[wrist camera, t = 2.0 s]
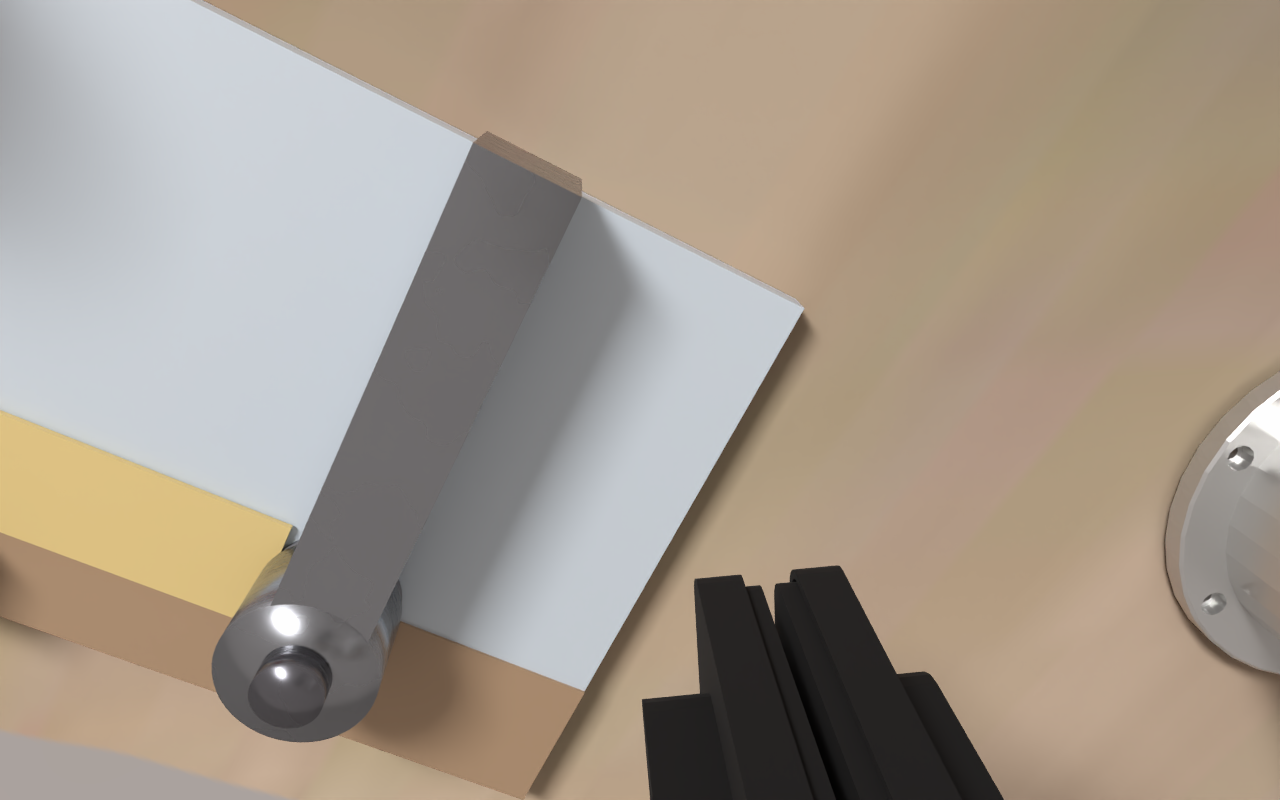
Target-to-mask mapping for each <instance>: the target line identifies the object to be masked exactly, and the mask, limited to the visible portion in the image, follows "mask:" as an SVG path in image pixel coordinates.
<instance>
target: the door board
mask: <svg viewBox="0 0 1280 800" xmlns="http://www.w3.org/2000/svg"><path fill="white" fill-rule="evenodd" d="M476 140H477V138H475V137H473V136H471V135H469V134H467V133H465V132H463V131H461V130H459V129H457V128H455V127H453V126H451V125H449V124H447V123H445V122H443V121H441V120H439V119H437V118H435V117H433V116H431V115H429V114H428V113H426V112H424V111H422V110H420V109H418V108H416V107H414V106H412V105H410V104H408V103H406V102H404V101H402V100H400V99H398V98H396V97H394V96H392V95H390V94H388V93H386V92H384V91H382V90H380V89H378V88H376V87H374V86H372V85H370V84H368V83H366V82H364V81H362V80H360V79H358V78H356V77H354V76H352V75H350V74H348V73H346V72H344V71H342V70H340V69H338V68H336V67H334V66H332V65H330V64H328V63H326V62H324V61H322V60H320V59H318V58H316V57H314V56H312V55H310V54H308V53H306V52H304V51H302V50H300V49H298V48H296V47H294V46H292V45H290V44H288V43H286V42H284V41H282V40H280V39H278V38H277V37H275V36H273V35H271V34H269V33H267V32H265V31H263V30H261V29H259V28H257V27H255V26H253V25H251V24H249V23H247V22H245V21H243V20H241V19H239V18H237V17H235V16H233V15H231V14H229V13H227V12H225V11H223V10H221V9H219V8H217V7H215V6H213V5H211V4H209V3H207V2H205V1H203V0H0V617H3V618H6V619H8V620H11V621H14V622H17V623H20V624H23V625H26V626H28V627H31V628H34V629H37V630H40V631H43V632H46V633H48V634H51V635H54V636H57V637H60V638H63V639H65V640H68V641H71V642H74V643H77V644H80V645H83V646H85V647H88V648H91V649H94V650H97V651H100V652H103V653H105V654H108V655H111V656H114V657H117V658H120V659H123V660H125V661H128V662H131V663H134V664H137V665H140V666H143V667H145V668H148V669H151V670H154V671H157V672H160V673H163V674H165V675H168V676H171V677H174V678H177V679H180V680H182V681H185V682H188V683H191V684H194V685H197V686H200V687H202V688H205V689H208V690H211V691H214V692H216V689H215V686H214V683H213V678H212V658H213V653H214V650H215V647H216V645H217V643H218V641H219V639H220V637H221V636H222V634H223V633H224V631H225V629H226V628H227V626H228V625H229V623H230V621H231V620H232V618H233V616H234V615H235V613H236V612H237V610H238V608H239V607H240V605H241V604H242V602H243V600H244V599H245V597H246V595H247V594H248V592H249V591H250V589H251V587H252V586H253V584H254V583H255V581H256V579H257V578H258V576H259V575H260V573H261V571H262V570H263V569H264V567H265V566H266V565H267V563H268V562H269V561H270V560H271V559H272V558H274V557H275V556H276V555H278V554H279V553H280V552H282V551H284V550H286V549H288V548H290V547H293V546H295V545H297V544H298V541H299V539H300V537H301V535H302V532H303V530H304V528H305V525H306V523H307V521H308V519H309V516H310V514H311V512H312V509H313V507H314V505H315V503H316V500H317V498H318V496H319V493H320V491H321V489H322V487H323V484H324V482H325V480H326V477H327V475H328V473H329V471H330V468H331V466H332V464H333V461H334V459H335V457H336V455H337V452H338V450H339V448H340V445H341V443H342V441H343V439H344V436H345V434H346V432H347V429H348V427H349V425H350V423H351V420H352V418H353V416H354V413H355V411H356V409H357V407H358V404H359V402H360V400H361V397H362V395H363V393H364V391H365V388H366V386H367V384H368V381H369V379H370V377H371V375H372V372H373V370H374V368H375V365H376V363H377V361H378V359H379V356H380V354H381V352H382V349H383V347H384V345H385V343H386V340H387V338H388V336H389V333H390V331H391V329H392V327H393V324H394V322H395V320H396V317H397V315H398V313H399V311H400V308H401V306H402V304H403V301H404V299H405V297H406V295H407V292H408V290H409V288H410V285H411V283H412V281H413V279H414V276H415V274H416V272H417V269H418V267H419V265H420V263H421V260H422V258H423V256H424V253H425V251H426V249H427V247H428V244H429V242H430V240H431V237H432V235H433V233H434V231H435V228H436V226H437V224H438V221H439V219H440V217H441V214H442V212H443V210H444V208H445V205H446V203H447V201H448V198H449V196H450V194H451V192H452V189H453V187H454V185H455V182H456V180H457V178H458V176H459V173H460V171H461V169H462V166H463V164H464V162H465V160H466V157H467V155H468V153H469V150H470V148H471V146H472V144H473V142H474V141H476ZM803 310H804V308H803V306H802V305H801V304H800V303H799V302H798V301H797V300H796V299H795V298H793V297H791V296H789V295H787V294H785V293H783V292H781V291H779V290H777V289H775V288H773V287H771V286H769V285H767V284H765V283H763V282H761V281H759V280H757V279H755V278H753V277H751V276H749V275H747V274H745V273H743V272H741V271H739V270H737V269H735V268H733V267H732V266H730V265H728V264H726V263H724V262H722V261H720V260H718V259H716V258H714V257H712V256H710V255H708V254H706V253H704V252H702V251H700V250H698V249H696V248H694V247H692V246H690V245H688V244H686V243H684V242H682V241H680V240H678V239H676V238H674V237H672V236H670V235H668V234H666V233H664V232H662V231H660V230H658V229H656V228H654V227H652V226H650V225H648V224H646V223H644V222H642V221H640V220H638V219H636V218H634V217H632V216H630V215H628V214H626V213H624V212H622V211H620V210H618V209H616V208H614V207H612V206H610V205H608V204H606V203H604V202H602V201H600V200H598V199H596V198H594V197H592V196H590V195H588V194H586V193H584V192H582V198H581V200H580V202H579V204H578V206H577V209H576V211H575V213H574V215H573V217H572V219H571V221H570V223H569V225H568V227H567V229H566V231H565V234H564V236H563V238H562V240H561V242H560V244H559V246H558V248H557V250H556V252H555V254H554V256H553V258H552V261H551V263H550V265H549V267H548V269H547V271H546V273H545V275H544V277H543V279H542V281H541V283H540V286H539V288H538V290H537V292H536V294H535V296H534V298H533V300H532V302H531V304H530V306H529V308H528V310H527V313H526V315H525V317H524V319H523V321H522V323H521V325H520V327H519V329H518V331H517V333H516V335H515V338H514V340H513V342H512V344H511V346H510V348H509V350H508V352H507V354H506V356H505V358H504V360H503V362H502V365H501V367H500V369H499V371H498V373H497V375H496V377H495V379H494V381H493V383H492V385H491V387H490V390H489V392H488V394H487V396H486V398H485V400H484V402H483V404H482V406H481V408H480V410H479V412H478V415H477V417H476V419H475V421H474V423H473V425H472V427H471V429H470V431H469V433H468V435H467V437H466V439H465V442H464V444H463V446H462V448H461V450H460V452H459V454H458V456H457V458H456V460H455V462H454V464H453V467H452V469H451V471H450V473H449V475H448V477H447V479H446V481H445V483H444V485H443V487H442V489H441V491H440V494H439V496H438V498H437V500H436V502H435V504H434V506H433V508H432V510H431V512H430V514H429V516H428V519H427V521H426V523H425V525H424V527H423V529H422V531H421V533H420V535H419V537H418V539H417V541H416V543H415V546H414V548H413V550H412V552H411V554H410V556H409V558H408V560H407V562H406V564H405V566H404V568H403V571H402V573H401V575H400V577H399V579H398V581H397V583H396V584H397V587H398V589H399V592H400V596H401V600H402V616H401V621H400V625H399V628H398V631H397V634H396V637H395V641H394V644H393V647H392V650H391V653H390V656H389V660H388V663H387V666H386V669H385V672H384V675H383V678H382V682H381V685H380V688H379V691H378V694H377V697H376V699H375V702H374V704H373V706H372V707H371V709H370V711H369V712H368V713H367V715H366V716H365V717H364V718H363V719H362V720H361V721H360V722H359V723H358V724H357V725H355V726H354V727H352V728H351V729H349V730H348V731H346V732H344V733H342V734H340V735H339V736H342V737H345V738H348V739H351V740H354V741H357V742H359V743H362V744H365V745H368V746H371V747H374V748H377V749H379V750H382V751H385V752H388V753H391V754H394V755H396V756H399V757H402V758H405V759H408V760H411V761H414V762H416V763H419V764H422V765H425V766H428V767H431V768H434V769H436V770H439V771H442V772H445V773H448V774H451V775H454V776H456V777H459V778H462V779H465V780H468V781H471V782H474V783H476V784H479V785H482V786H485V787H488V788H491V789H494V790H496V791H499V792H502V793H505V794H508V795H511V796H513V797H516V798H519V799H522V800H523V799H524V798H525V796H526V794H527V792H528V791H529V789H530V787H531V785H532V784H533V782H534V780H535V778H536V777H537V775H538V773H539V771H540V770H541V768H542V766H543V765H544V763H545V761H546V759H547V758H548V756H549V754H550V752H551V751H552V749H553V747H554V745H555V744H556V742H557V740H558V738H559V737H560V735H561V733H562V731H563V730H564V728H565V726H566V724H567V723H568V721H569V719H570V718H571V716H572V714H573V712H574V711H575V709H576V707H577V705H578V704H579V702H580V700H581V698H582V697H583V695H584V691H585V690H586V688H587V686H588V684H589V683H590V681H591V679H592V677H593V676H594V674H595V672H596V670H597V669H598V667H599V665H600V663H601V662H602V660H603V658H604V656H605V655H606V653H607V651H608V649H609V648H610V646H611V644H612V643H613V641H614V639H615V637H616V636H617V634H618V632H619V630H620V629H621V627H622V625H623V623H624V622H625V620H626V618H627V616H628V615H629V613H630V611H631V609H632V608H633V606H634V604H635V602H636V601H637V599H638V597H639V595H640V594H641V592H642V590H643V589H644V587H645V585H646V583H647V582H648V580H649V578H650V576H651V575H652V573H653V571H654V569H655V568H656V566H657V564H658V562H659V561H660V559H661V557H662V555H663V554H664V552H665V550H666V548H667V547H668V545H669V543H670V541H671V540H672V538H673V536H674V535H675V533H676V531H677V529H678V528H679V526H680V524H681V522H682V521H683V519H684V517H685V515H686V514H687V512H688V510H689V508H690V507H691V505H692V503H693V501H694V500H695V498H696V496H697V494H698V493H699V491H700V489H701V487H702V486H703V484H704V482H705V481H706V479H707V477H708V475H709V474H710V472H711V470H712V468H713V467H714V465H715V463H716V461H717V460H718V458H719V456H720V454H721V453H722V451H723V449H724V447H725V446H726V444H727V442H728V440H729V439H730V437H731V435H732V433H733V432H734V430H735V428H736V427H737V425H738V423H739V421H740V420H741V418H742V416H743V414H744V413H745V411H746V409H747V407H748V406H749V404H750V402H751V400H752V399H753V397H754V395H755V393H756V392H757V390H758V388H759V386H760V385H761V383H762V381H763V379H764V378H765V376H766V374H767V373H768V371H769V369H770V367H771V366H772V364H773V362H774V360H775V359H776V357H777V355H778V353H779V352H780V350H781V348H782V346H783V345H784V343H785V341H786V339H787V338H788V336H789V334H790V332H791V331H792V329H793V327H794V326H795V324H796V322H797V320H798V319H799V317H800V315H801V313H802V312H803Z"/></svg>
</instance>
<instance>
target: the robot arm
mask: <svg viewBox="0 0 1280 800" xmlns="http://www.w3.org/2000/svg"><path fill="white" fill-rule="evenodd" d="M1165 546H1166V564H1167V571H1168V575H1169V578H1170V582H1171V585H1172V588H1173V592H1174V595H1175V597H1176V599H1177V600H1178V602H1179V604H1180V605H1181V607H1182V609H1183V610H1184V612H1185V614H1186V616H1187V617H1188V619H1189V620H1190V621H1191V622H1192V623H1193V624H1194V625H1195V626H1196V627H1197V628H1198V629H1199V630H1200V631H1201V632H1202V633H1203V634H1204V635H1205V636H1206V637H1207V638H1208V639H1209V640H1210V641H1211V642H1213V643H1214V644H1215V645H1217V646H1218V647H1219V648H1220V649H1222V650H1223V651H1224V652H1225V653H1227V654H1228V655H1229V656H1231V657H1232V658H1234V659H1236V660H1238V661H1240V662H1242V663H1245V664H1247V665H1249V666H1251V667H1253V668H1255V669H1258V670H1262V671H1266V672H1271V673H1275V674H1279V675H1280V371H1279V372H1278V373H1276V374H1275V375H1273V376H1272V377H1270V378H1269V379H1267V380H1266V381H1264V382H1263V383H1261V384H1260V385H1258V386H1257V387H1255V388H1254V389H1252V390H1251V391H1250V392H1249V393H1248V394H1247V395H1246V396H1245V397H1244V398H1242V399H1241V400H1240V401H1239V402H1238V403H1237V404H1236V405H1235V406H1234V407H1233V408H1232V409H1230V410H1229V411H1228V412H1227V413H1226V414H1225V415H1224V416H1223V417H1222V418H1221V419H1220V421H1219V422H1218V423H1217V424H1216V426H1215V427H1214V428H1213V429H1212V431H1211V432H1210V433H1209V434H1208V436H1207V437H1206V438H1205V439H1204V441H1203V442H1202V443H1201V444H1200V446H1199V447H1198V449H1197V451H1196V453H1195V454H1194V456H1193V458H1192V460H1191V461H1190V463H1189V465H1188V467H1187V468H1186V470H1185V472H1184V474H1183V475H1182V477H1181V480H1180V483H1179V485H1178V488H1177V491H1176V494H1175V496H1174V499H1173V502H1172V505H1171V508H1170V512H1169V519H1168V525H1167V531H1166V538H1165ZM694 595H695V613H696V630H697V648H698V665H699V683H700V694H692V695H682V696H672V697H662V698H652V699H642V708H643V720H644V732H645V744H646V756H647V768H648V779H649V790H650V800H1004V799H1003V797H1002V795H1001V794H1000V792H999V790H998V788H997V787H996V785H995V783H994V781H993V780H992V778H991V776H990V775H989V773H988V771H987V769H986V768H985V766H984V764H983V762H982V761H981V759H980V757H979V755H978V754H977V752H976V750H975V749H974V747H973V745H972V743H971V742H970V740H969V738H968V736H967V735H966V733H965V731H964V729H963V728H962V726H961V724H960V722H959V721H958V719H957V717H956V716H955V714H954V712H953V710H952V709H951V707H950V705H949V703H948V702H947V700H946V698H945V696H944V695H943V693H942V691H941V690H940V688H939V686H938V684H937V683H936V681H935V680H934V679H933V677H932V676H931V675H930V674H928V673H926V672H915V673H904V674H896V672H895V670H894V668H893V666H892V664H891V662H890V660H889V658H888V656H887V654H886V652H885V651H884V649H883V647H882V645H881V643H880V641H879V639H878V637H877V635H876V633H875V631H874V629H873V627H872V626H871V624H870V622H869V620H868V618H867V616H866V614H865V612H864V610H863V608H862V606H861V604H860V602H859V601H858V599H857V597H856V595H855V593H854V591H853V589H852V587H851V585H850V583H849V581H848V579H847V577H846V576H845V574H844V572H843V570H842V569H841V567H840V566H827V567H816V568H805V569H795V570H792V571H791V574H790V582H789V583H779V584H776V585H775V590H774V602H775V624H774V621H773V618H772V615H771V612H770V610H769V607H768V604H767V601H766V598H765V595H764V592H763V590H762V587H761V586H760V585H758V586H747V587H745V584H744V581H743V578H742V576H741V575H731V576H721V577H710V578H700V579H695V581H694Z"/></svg>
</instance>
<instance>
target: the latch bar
mask: <svg viewBox="0 0 1280 800" xmlns="http://www.w3.org/2000/svg"><path fill="white" fill-rule="evenodd" d="M581 198H582V179H581V178H579V177H577V176H575V175H573V174H571V173H569V172H567V171H565V170H563V169H561V168H559V167H557V166H555V165H553V164H551V163H549V162H547V161H545V160H543V159H541V158H539V157H537V156H535V155H533V154H531V153H529V152H527V151H525V150H523V149H521V148H519V147H517V146H515V145H513V144H511V143H509V142H507V141H505V140H503V139H501V138H500V137H498V136H496V135H494V134H492V133H490V132H488V131H487V132H486V133H484V134H483V135H482V136H481V137H479V138H478V139H477V140H476V141H474V142H473V144H472V146H471V148H470V150H469V153H468V155H467V157H466V160H465V162H464V164H463V166H462V169H461V171H460V173H459V176H458V178H457V180H456V182H455V185H454V187H453V189H452V192H451V194H450V196H449V198H448V201H447V203H446V205H445V208H444V210H443V212H442V214H441V217H440V219H439V221H438V224H437V226H436V228H435V231H434V233H433V235H432V237H431V240H430V242H429V244H428V247H427V249H426V251H425V253H424V256H423V258H422V260H421V263H420V265H419V267H418V269H417V272H416V274H415V276H414V279H413V281H412V283H411V285H410V288H409V290H408V292H407V295H406V297H405V299H404V301H403V304H402V306H401V308H400V311H399V313H398V315H397V317H396V320H395V322H394V324H393V327H392V329H391V331H390V333H389V336H388V338H387V340H386V343H385V345H384V347H383V349H382V352H381V354H380V356H379V359H378V361H377V363H376V365H375V368H374V370H373V372H372V375H371V377H370V379H369V381H368V384H367V386H366V388H365V391H364V393H363V395H362V397H361V400H360V402H359V404H358V407H357V409H356V411H355V413H354V416H353V418H352V420H351V423H350V425H349V427H348V429H347V432H346V434H345V436H344V439H343V441H342V443H341V445H340V448H339V450H338V452H337V455H336V457H335V459H334V461H333V464H332V466H331V468H330V471H329V473H328V475H327V477H326V480H325V482H324V484H323V487H322V489H321V491H320V493H319V496H318V498H317V500H316V503H315V505H314V507H313V509H312V512H311V514H310V516H309V519H308V521H307V523H306V525H305V528H304V530H303V532H302V535H301V537H300V539H299V541H298V544H297V545H295V546H293V547H290V548H288V549H286V550H284V551H282V552H280V553H279V554H278V555H276V556H275V557H274V558H272V559H271V560H270V561H269V562H268V563H267V565H266V566H265V567H264V569H263V570H262V571H261V573H260V575H259V576H258V578H257V579H256V581H255V583H254V584H253V586H252V587H251V589H250V591H249V592H248V594H247V595H246V597H245V599H244V600H243V602H242V604H241V605H240V607H239V608H238V610H237V612H236V613H235V615H234V616H233V618H232V620H231V621H230V623H229V625H228V626H227V628H226V629H225V631H224V633H223V634H222V636H221V637H220V639H219V641H218V643H217V645H216V647H215V650H214V653H213V658H212V678H213V683H214V686H215V689H216V692H217V694H218V696H219V698H220V700H221V701H222V703H223V704H224V706H225V707H226V708H227V709H228V710H229V712H230V713H231V714H232V715H233V716H234V717H235V718H237V719H238V720H239V721H240V722H241V723H243V724H244V725H246V726H247V727H249V728H251V729H252V730H254V731H256V732H258V733H260V734H263V735H265V736H268V737H271V738H275V739H278V740H284V741H289V742H314V741H321V740H325V739H329V738H332V737H335V736H337V735H340V734H342V733H344V732H346V731H348V730H349V729H351V728H352V727H354V726H355V725H357V724H358V723H359V722H360V721H361V720H362V719H363V718H364V717H365V716H366V715H367V713H368V712H369V711H370V709H371V707H372V706H373V704H374V702H375V699H376V697H377V694H378V691H379V688H380V685H381V682H382V678H383V675H384V672H385V669H386V666H387V663H388V660H389V656H390V653H391V650H392V647H393V644H394V641H395V637H396V634H397V631H398V628H399V625H400V621H401V616H402V600H401V596H400V592H399V589H398V587H397V584H396V583H397V581H398V579H399V577H400V575H401V573H402V571H403V568H404V566H405V564H406V562H407V560H408V558H409V556H410V554H411V552H412V550H413V548H414V546H415V543H416V541H417V539H418V537H419V535H420V533H421V531H422V529H423V527H424V525H425V523H426V521H427V519H428V516H429V514H430V512H431V510H432V508H433V506H434V504H435V502H436V500H437V498H438V496H439V494H440V491H441V489H442V487H443V485H444V483H445V481H446V479H447V477H448V475H449V473H450V471H451V469H452V467H453V464H454V462H455V460H456V458H457V456H458V454H459V452H460V450H461V448H462V446H463V444H464V442H465V439H466V437H467V435H468V433H469V431H470V429H471V427H472V425H473V423H474V421H475V419H476V417H477V415H478V412H479V410H480V408H481V406H482V404H483V402H484V400H485V398H486V396H487V394H488V392H489V390H490V387H491V385H492V383H493V381H494V379H495V377H496V375H497V373H498V371H499V369H500V367H501V365H502V362H503V360H504V358H505V356H506V354H507V352H508V350H509V348H510V346H511V344H512V342H513V340H514V338H515V335H516V333H517V331H518V329H519V327H520V325H521V323H522V321H523V319H524V317H525V315H526V313H527V310H528V308H529V306H530V304H531V302H532V300H533V298H534V296H535V294H536V292H537V290H538V288H539V286H540V283H541V281H542V279H543V277H544V275H545V273H546V271H547V269H548V267H549V265H550V263H551V261H552V258H553V256H554V254H555V252H556V250H557V248H558V246H559V244H560V242H561V240H562V238H563V236H564V234H565V231H566V229H567V227H568V225H569V223H570V221H571V219H572V217H573V215H574V213H575V211H576V209H577V206H578V204H579V202H580V200H581Z"/></svg>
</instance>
